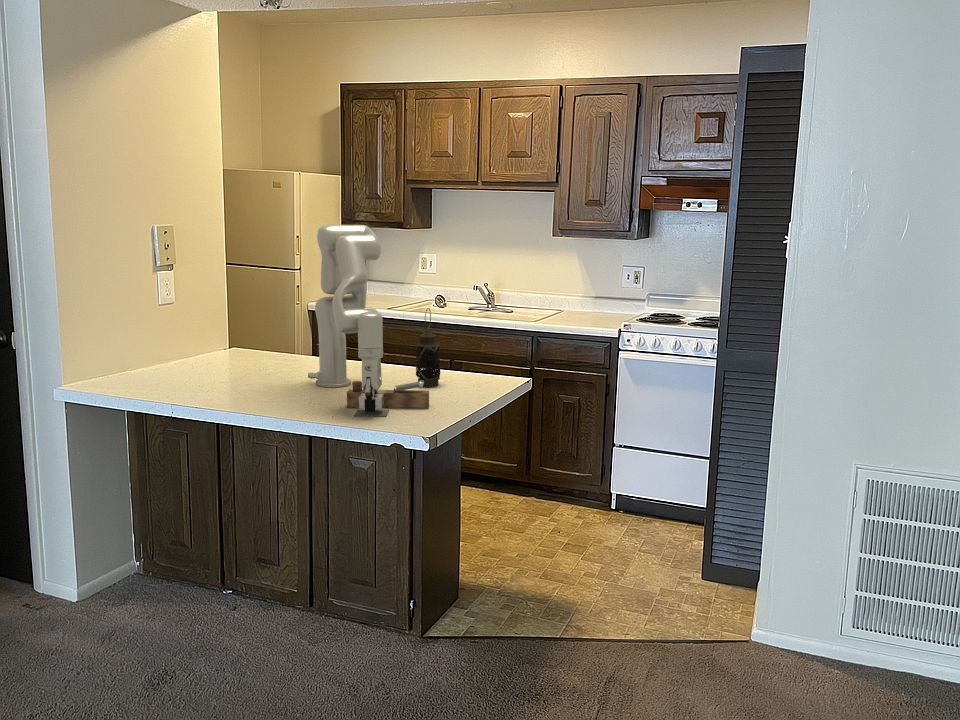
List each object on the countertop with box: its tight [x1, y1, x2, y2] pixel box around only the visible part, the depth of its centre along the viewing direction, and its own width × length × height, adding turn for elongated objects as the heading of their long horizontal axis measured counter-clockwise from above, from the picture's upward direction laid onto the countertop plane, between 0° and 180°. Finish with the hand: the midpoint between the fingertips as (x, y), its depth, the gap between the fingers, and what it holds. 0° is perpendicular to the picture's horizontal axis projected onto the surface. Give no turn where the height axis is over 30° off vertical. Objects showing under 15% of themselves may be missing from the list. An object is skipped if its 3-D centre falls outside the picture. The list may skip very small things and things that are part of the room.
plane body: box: [346, 380, 430, 410], centre depth 274 cm, size 26×4×8 cm, turn 89°
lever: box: [393, 380, 424, 392], centre depth 273 cm, size 2×5×10 cm
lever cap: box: [358, 393, 384, 410], centre depth 265 cm, size 7×5×4 cm
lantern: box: [414, 307, 441, 389], centre depth 303 cm, size 10×9×28 cm
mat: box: [353, 409, 390, 418], centre depth 266 cm, size 10×7×1 cm
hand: (371, 408), depth 265 cm, fingers closed on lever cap, 5 cm apart
